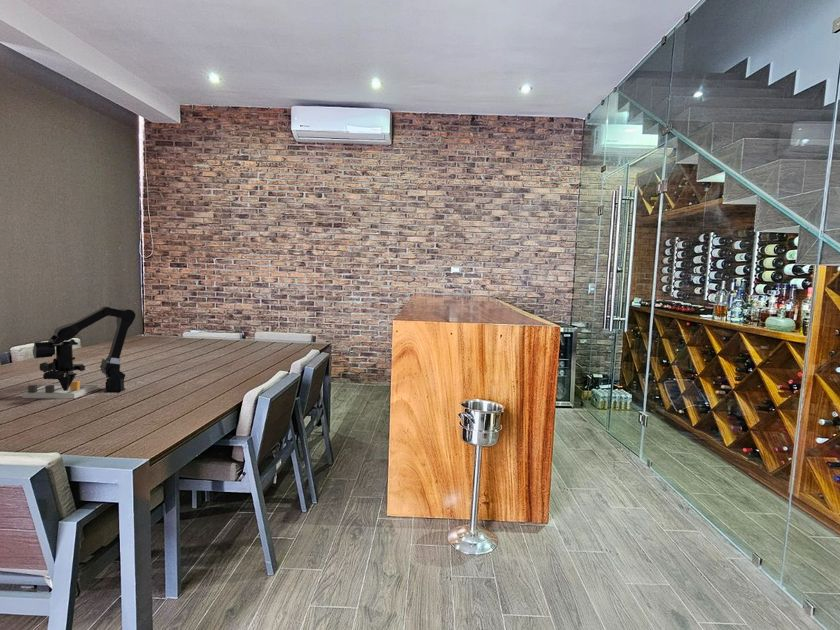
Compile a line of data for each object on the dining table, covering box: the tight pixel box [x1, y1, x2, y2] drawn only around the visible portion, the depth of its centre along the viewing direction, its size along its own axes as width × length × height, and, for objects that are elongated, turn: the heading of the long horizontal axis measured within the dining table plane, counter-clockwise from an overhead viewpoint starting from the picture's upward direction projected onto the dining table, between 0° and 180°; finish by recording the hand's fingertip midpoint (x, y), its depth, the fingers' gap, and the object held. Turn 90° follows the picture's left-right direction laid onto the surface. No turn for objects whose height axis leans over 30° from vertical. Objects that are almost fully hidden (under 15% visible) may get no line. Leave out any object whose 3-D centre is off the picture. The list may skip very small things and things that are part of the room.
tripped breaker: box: [70, 380, 81, 390], centre depth 207 cm, size 3×2×4 cm, turn 96°
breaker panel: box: [22, 383, 98, 399], centre depth 209 cm, size 21×17×5 cm
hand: (65, 390), depth 201 cm, fingers closed
